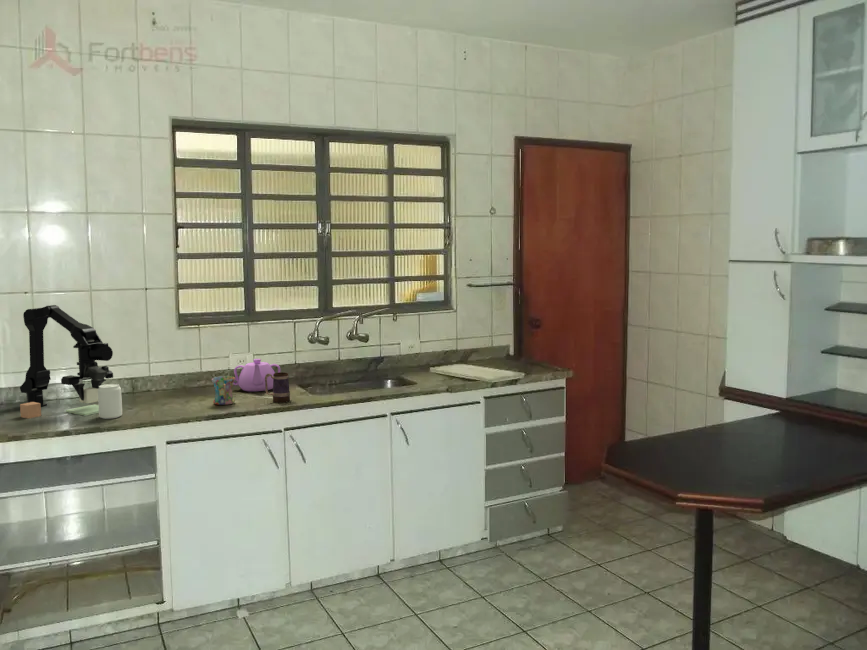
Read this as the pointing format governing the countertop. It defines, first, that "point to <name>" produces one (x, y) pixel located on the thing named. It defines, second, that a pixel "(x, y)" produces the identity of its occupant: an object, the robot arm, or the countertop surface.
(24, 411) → the terracotta brick
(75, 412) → the plate
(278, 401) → the mug
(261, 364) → the teapot
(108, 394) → the beverage can
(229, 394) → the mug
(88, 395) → the cream brick
